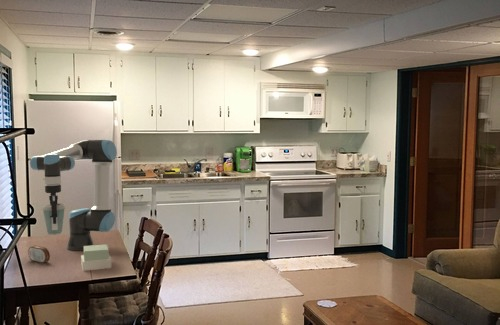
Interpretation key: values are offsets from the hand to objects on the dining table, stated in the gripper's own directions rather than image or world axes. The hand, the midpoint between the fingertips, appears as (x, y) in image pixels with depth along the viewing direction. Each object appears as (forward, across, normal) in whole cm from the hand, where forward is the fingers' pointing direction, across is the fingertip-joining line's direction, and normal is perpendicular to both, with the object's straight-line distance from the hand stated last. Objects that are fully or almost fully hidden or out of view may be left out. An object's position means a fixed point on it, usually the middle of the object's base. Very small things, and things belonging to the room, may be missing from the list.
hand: (54, 227), depth 261 cm
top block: (+17, 0, +20) cm, 26 cm away
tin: (+22, -20, -8) cm, 31 cm away
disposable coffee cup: (+3, 0, 0) cm, 3 cm away
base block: (+22, 0, +20) cm, 30 cm away
